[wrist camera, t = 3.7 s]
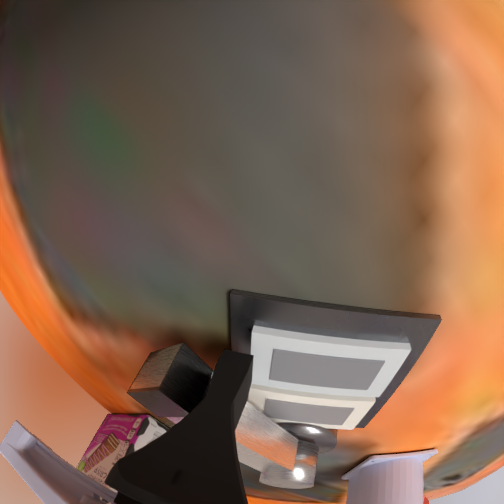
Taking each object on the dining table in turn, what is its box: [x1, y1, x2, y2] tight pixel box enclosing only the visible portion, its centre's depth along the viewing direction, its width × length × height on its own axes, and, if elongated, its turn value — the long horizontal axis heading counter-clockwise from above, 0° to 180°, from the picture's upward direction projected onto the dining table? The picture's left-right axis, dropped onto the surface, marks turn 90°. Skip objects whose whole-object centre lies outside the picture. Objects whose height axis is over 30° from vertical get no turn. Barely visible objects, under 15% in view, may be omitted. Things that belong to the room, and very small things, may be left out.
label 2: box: [248, 384, 376, 430], centre depth 14 cm, size 4×7×1 cm, turn 88°
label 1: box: [251, 325, 411, 397], centre depth 11 cm, size 4×7×1 cm, turn 88°
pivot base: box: [276, 422, 337, 454], centre depth 16 cm, size 6×6×1 cm
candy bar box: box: [76, 414, 169, 504], centre depth 17 cm, size 11×5×16 cm, turn 128°
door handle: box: [127, 343, 319, 489], centre depth 12 cm, size 14×4×3 cm, turn 35°
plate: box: [230, 289, 442, 428], centre depth 13 cm, size 10×9×1 cm
